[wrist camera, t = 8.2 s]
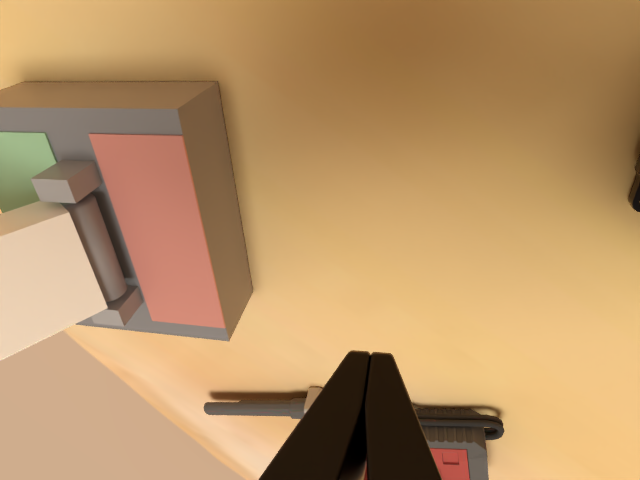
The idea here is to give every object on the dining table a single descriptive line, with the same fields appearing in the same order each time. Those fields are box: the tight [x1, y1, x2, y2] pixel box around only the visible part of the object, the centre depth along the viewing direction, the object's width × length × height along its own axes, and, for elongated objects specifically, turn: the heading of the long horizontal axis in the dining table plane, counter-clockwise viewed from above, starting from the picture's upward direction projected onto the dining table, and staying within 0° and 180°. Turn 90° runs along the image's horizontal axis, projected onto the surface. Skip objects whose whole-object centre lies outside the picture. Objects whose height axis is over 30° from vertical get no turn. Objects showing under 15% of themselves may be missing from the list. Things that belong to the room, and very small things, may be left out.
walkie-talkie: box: [204, 387, 504, 480], centre depth 30 cm, size 9×4×20 cm
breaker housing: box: [0, 81, 253, 341], centre depth 22 cm, size 10×12×6 cm
